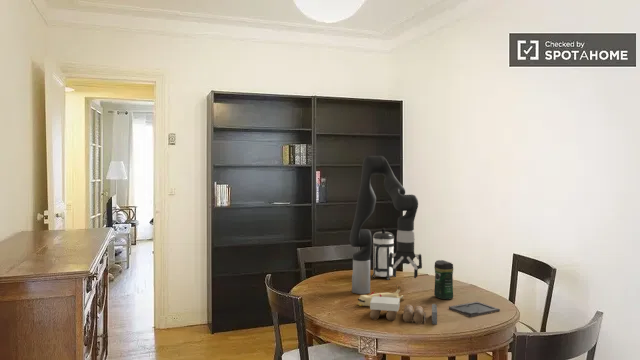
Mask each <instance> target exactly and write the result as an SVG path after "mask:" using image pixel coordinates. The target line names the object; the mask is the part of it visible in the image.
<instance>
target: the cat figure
mask: <svg viewBox="0 0 640 360" xmlns="http://www.w3.org/2000/svg"><path fill="white" fill-rule="evenodd" d="M395 287H396V290H395V291H394V292H378V293H377V292H376V291H375V290H374V291H372V292H370V293H369V295H367V294H360V296H359V297H358V298H357V301H358V302H357V304H358V306H360V307H362V306H364V307H370V302H371V300H372V297H373V296H376V297H392V298H400V302H403V301H404V300H405V298H404V295H400V294H399V293H400V292H401V290H402V288H401V285H400V284H397V285H396V286H395ZM375 292H376V293H375Z"/></svg>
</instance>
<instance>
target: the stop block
mask: <svg viewBox="0 0 640 360" xmlns="http://www.w3.org/2000/svg"><path fill="white" fill-rule="evenodd" d="M431 325H438V306H437V303H436V304H435V303H432V304H431Z"/></svg>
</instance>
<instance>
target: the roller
mask: <svg viewBox="0 0 640 360" xmlns="http://www.w3.org/2000/svg"><path fill="white" fill-rule="evenodd" d="M424 311H425V310H424V308H423V307H422V306H420V305H417V306H415V307H414V308H413V312H414V317H413V323H415V324H422V323H423V322H424Z"/></svg>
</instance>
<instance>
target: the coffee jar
mask: <svg viewBox="0 0 640 360" xmlns="http://www.w3.org/2000/svg"><path fill="white" fill-rule="evenodd" d="M453 273H454V263H452V262H450V261H446V260H442V259H441V260H440V259H438V260H436V261H435V262H434V291H433V292H434V297H436V298H438V299H441V300H451V299H454V286H453V285H454V278H453V276H454V274H453Z"/></svg>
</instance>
